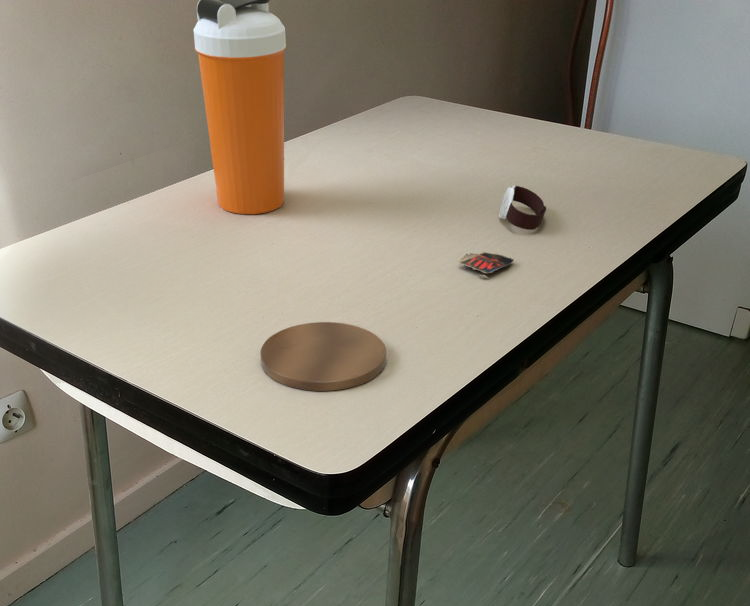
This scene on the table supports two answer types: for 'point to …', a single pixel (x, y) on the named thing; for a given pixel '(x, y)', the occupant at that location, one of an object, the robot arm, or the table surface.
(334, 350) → the coaster
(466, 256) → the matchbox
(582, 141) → the table surface
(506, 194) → the watch
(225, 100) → the shaker bottle
